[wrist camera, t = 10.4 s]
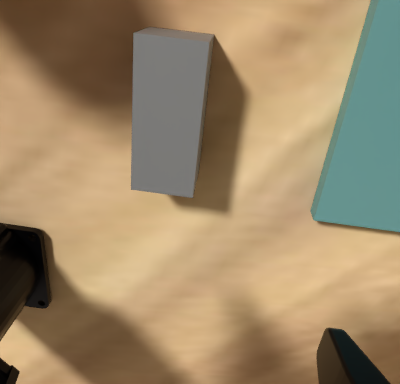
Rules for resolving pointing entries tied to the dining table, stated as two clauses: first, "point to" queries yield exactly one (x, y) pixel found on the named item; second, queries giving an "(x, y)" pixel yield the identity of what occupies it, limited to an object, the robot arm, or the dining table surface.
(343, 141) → the peg stand
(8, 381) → the robot arm
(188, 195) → the block
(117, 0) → the dining table surface
